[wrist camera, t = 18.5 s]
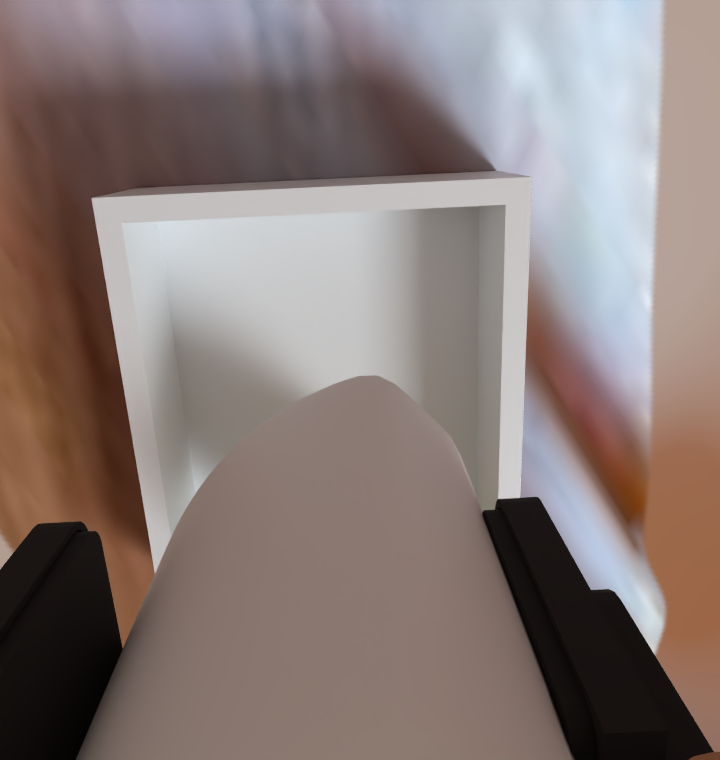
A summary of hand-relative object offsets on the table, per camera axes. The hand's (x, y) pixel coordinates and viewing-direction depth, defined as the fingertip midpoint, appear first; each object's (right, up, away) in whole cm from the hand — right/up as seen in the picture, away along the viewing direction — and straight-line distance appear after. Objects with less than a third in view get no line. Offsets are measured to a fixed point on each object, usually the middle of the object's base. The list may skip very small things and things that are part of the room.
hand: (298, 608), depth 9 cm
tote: (0, +2, +19) cm, 19 cm away
